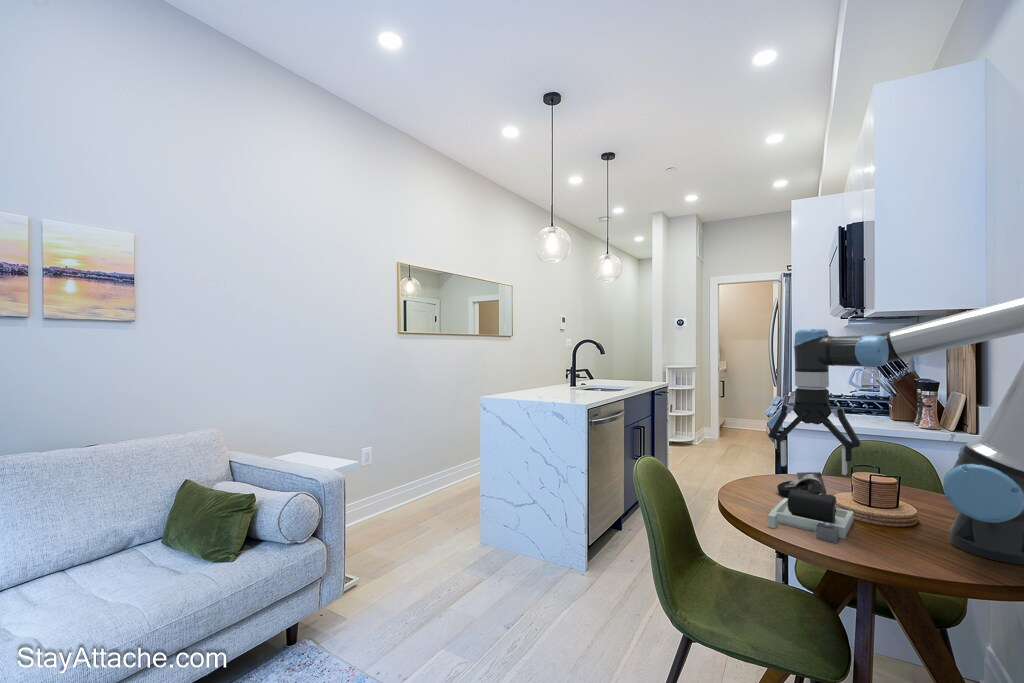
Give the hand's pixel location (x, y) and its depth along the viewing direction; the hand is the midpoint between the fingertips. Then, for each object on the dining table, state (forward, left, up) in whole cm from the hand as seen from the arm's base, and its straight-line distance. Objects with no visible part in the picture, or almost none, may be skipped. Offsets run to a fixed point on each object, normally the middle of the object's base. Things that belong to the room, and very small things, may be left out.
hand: (813, 469), depth 123 cm
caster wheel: (+7, -21, -14) cm, 26 cm away
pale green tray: (0, +2, -14) cm, 14 cm away
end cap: (0, 0, -13) cm, 13 cm away
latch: (-5, +10, -14) cm, 18 cm away
